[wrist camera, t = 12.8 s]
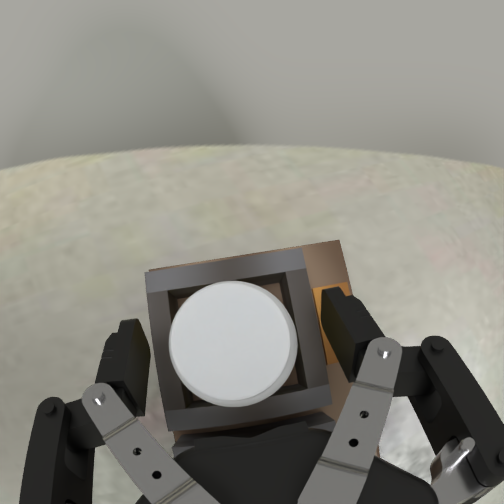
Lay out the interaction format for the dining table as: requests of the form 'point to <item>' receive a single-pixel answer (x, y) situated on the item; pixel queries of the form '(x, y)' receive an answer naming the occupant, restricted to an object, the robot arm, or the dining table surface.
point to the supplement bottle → (233, 343)
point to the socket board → (308, 337)
